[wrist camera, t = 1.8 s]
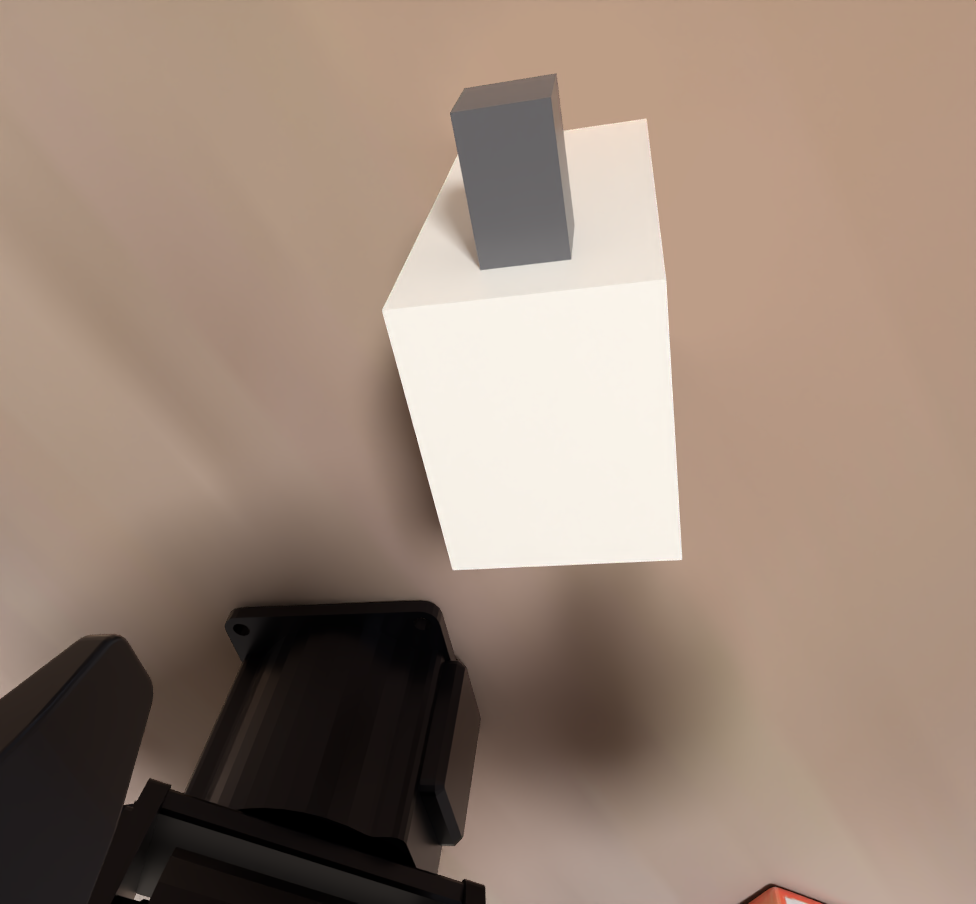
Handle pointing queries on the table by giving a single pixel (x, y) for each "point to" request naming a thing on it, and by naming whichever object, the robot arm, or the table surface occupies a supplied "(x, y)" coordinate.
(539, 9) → the table surface
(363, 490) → the table surface
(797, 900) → the cracker box
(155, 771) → the table surface
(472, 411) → the plug
